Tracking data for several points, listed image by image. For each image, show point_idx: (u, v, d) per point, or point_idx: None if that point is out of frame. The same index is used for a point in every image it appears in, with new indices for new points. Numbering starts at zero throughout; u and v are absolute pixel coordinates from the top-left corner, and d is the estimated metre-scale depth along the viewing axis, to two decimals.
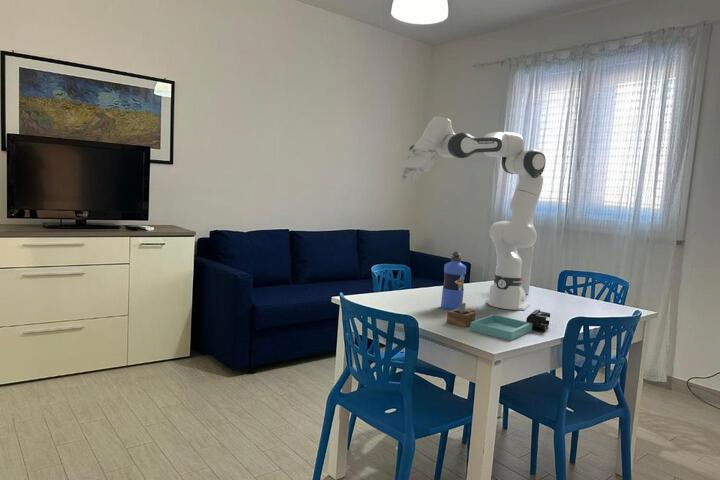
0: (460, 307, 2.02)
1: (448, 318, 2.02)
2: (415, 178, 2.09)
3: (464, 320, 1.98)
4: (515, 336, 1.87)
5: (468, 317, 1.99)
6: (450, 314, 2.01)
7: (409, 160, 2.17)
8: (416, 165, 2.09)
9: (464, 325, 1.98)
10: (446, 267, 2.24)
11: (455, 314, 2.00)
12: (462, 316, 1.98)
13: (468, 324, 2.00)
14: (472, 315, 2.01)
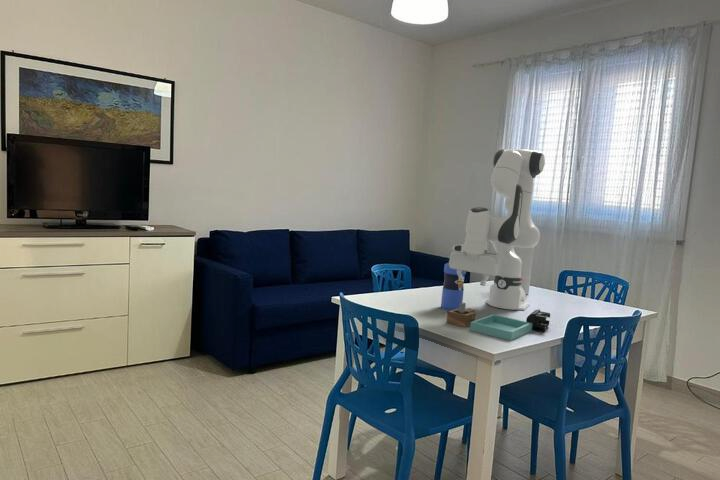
0: (460, 307, 2.02)
1: (448, 318, 2.02)
2: (484, 284, 2.04)
3: (464, 320, 1.98)
4: (515, 336, 1.87)
5: (468, 317, 1.99)
6: (450, 314, 2.01)
7: (462, 262, 2.07)
8: (481, 272, 2.02)
9: (464, 325, 1.98)
10: (446, 267, 2.24)
11: (455, 314, 2.00)
12: (462, 316, 1.98)
13: (468, 324, 2.00)
14: (472, 315, 2.01)
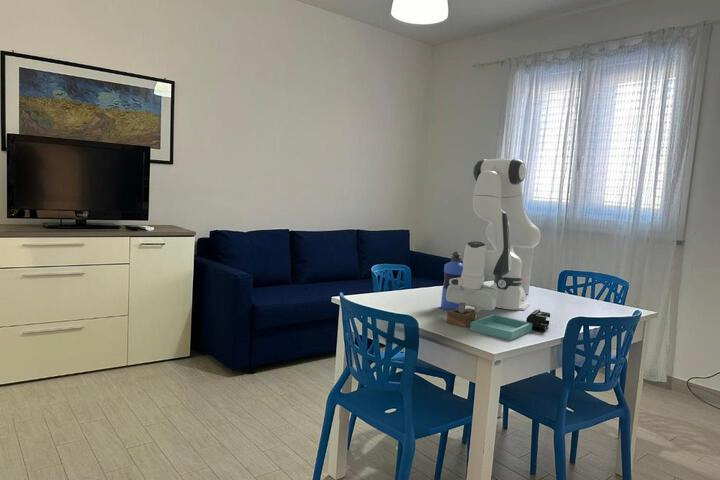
0: (460, 307, 2.02)
1: (448, 318, 2.02)
2: (475, 317, 2.06)
3: (464, 320, 1.98)
4: (515, 336, 1.87)
5: (468, 317, 1.99)
6: (450, 314, 2.01)
7: (459, 295, 2.08)
8: (477, 306, 2.04)
9: (464, 325, 1.98)
10: (446, 267, 2.24)
11: (455, 314, 2.00)
12: (462, 316, 1.98)
13: (468, 324, 2.00)
14: (472, 315, 2.01)
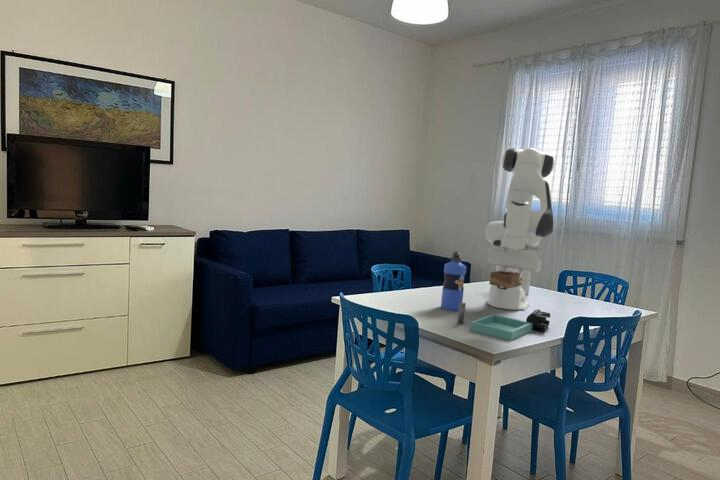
0: (460, 307, 2.02)
1: (491, 279, 1.93)
2: (519, 279, 1.97)
3: (509, 281, 1.89)
4: (515, 336, 1.87)
5: (513, 278, 1.90)
6: (493, 275, 1.92)
7: (501, 257, 1.99)
8: (522, 267, 1.95)
9: (509, 286, 1.89)
10: (446, 267, 2.24)
11: (499, 275, 1.91)
12: (507, 277, 1.89)
13: (513, 285, 1.91)
14: (516, 276, 1.92)
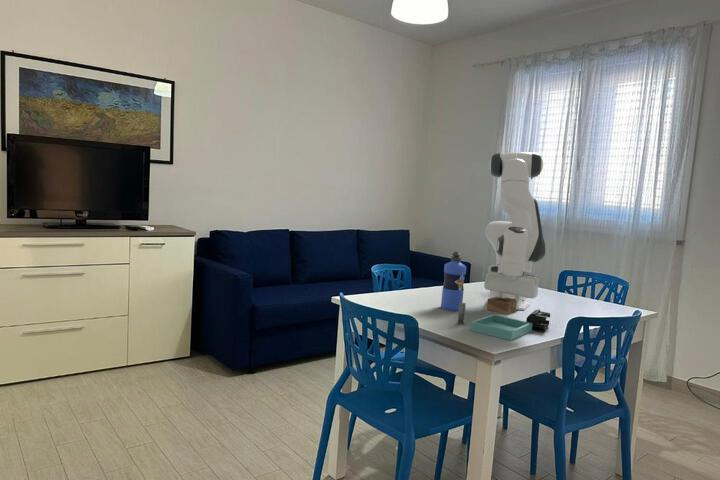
0: (460, 307, 2.02)
1: (488, 306, 1.94)
2: (516, 305, 1.98)
3: (506, 308, 1.89)
4: (515, 336, 1.87)
5: (510, 305, 1.91)
6: (490, 302, 1.93)
7: (498, 283, 2.00)
8: (519, 294, 1.95)
9: (506, 313, 1.90)
10: (446, 267, 2.24)
11: (496, 302, 1.92)
12: (504, 304, 1.90)
13: (510, 312, 1.92)
14: (513, 303, 1.93)
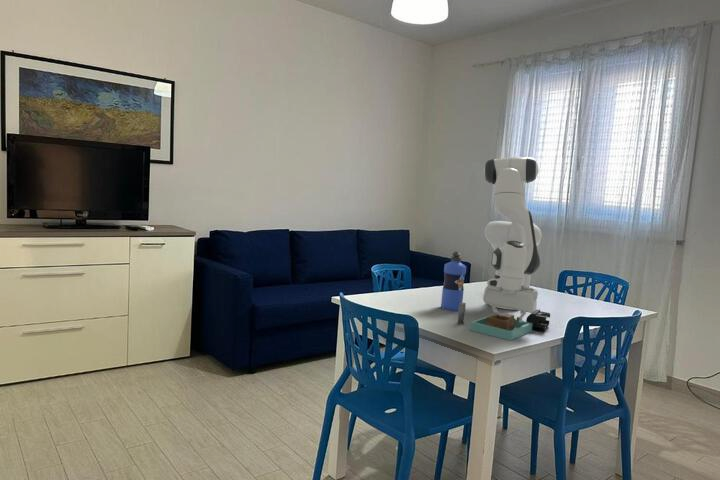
0: (460, 307, 2.02)
1: (487, 324, 1.95)
2: (521, 320, 1.98)
3: (504, 326, 1.91)
4: (515, 336, 1.87)
5: (508, 323, 1.92)
6: (489, 320, 1.94)
7: (497, 297, 2.01)
8: (518, 308, 1.96)
9: None
10: (446, 267, 2.24)
11: (495, 320, 1.93)
12: (502, 322, 1.91)
13: (509, 330, 1.93)
14: (512, 321, 1.94)
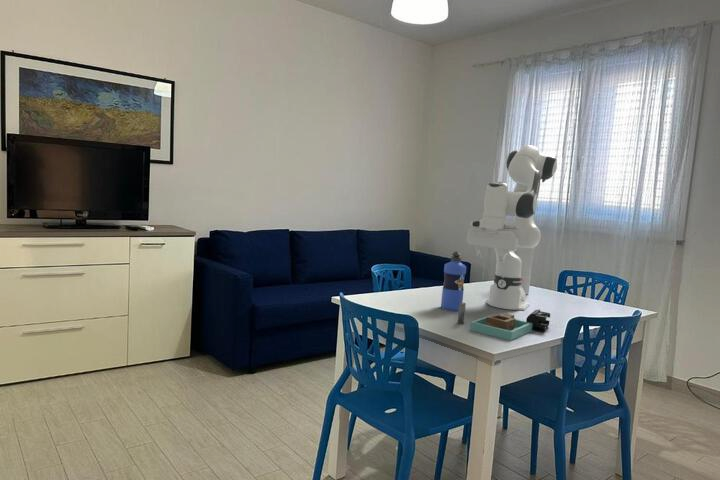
0: (460, 307, 2.02)
1: (487, 324, 1.95)
2: (504, 259, 2.01)
3: (504, 326, 1.91)
4: (515, 336, 1.87)
5: (508, 323, 1.92)
6: (489, 320, 1.94)
7: (480, 237, 2.05)
8: (500, 247, 2.00)
9: None
10: (446, 267, 2.24)
11: (495, 320, 1.93)
12: (502, 322, 1.91)
13: (509, 330, 1.93)
14: (512, 321, 1.94)
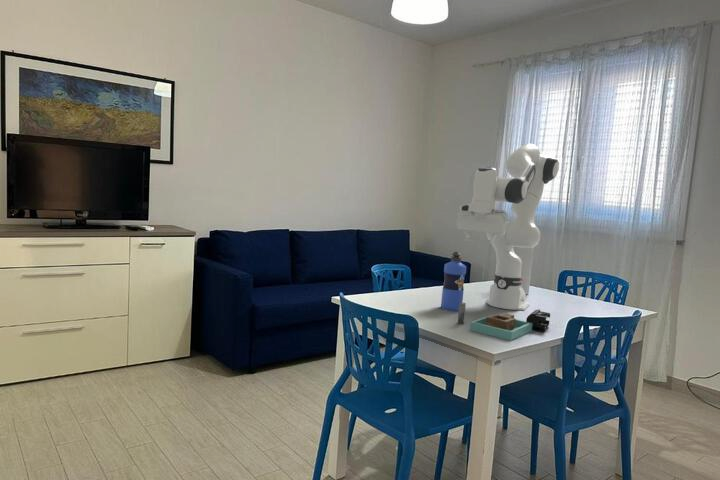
0: (460, 307, 2.02)
1: (487, 324, 1.95)
2: (492, 243, 2.04)
3: (504, 326, 1.91)
4: (515, 336, 1.87)
5: (508, 323, 1.92)
6: (489, 320, 1.94)
7: (469, 222, 2.07)
8: (488, 231, 2.02)
9: None
10: (446, 267, 2.24)
11: (495, 320, 1.93)
12: (502, 322, 1.91)
13: (509, 330, 1.93)
14: (512, 321, 1.94)
